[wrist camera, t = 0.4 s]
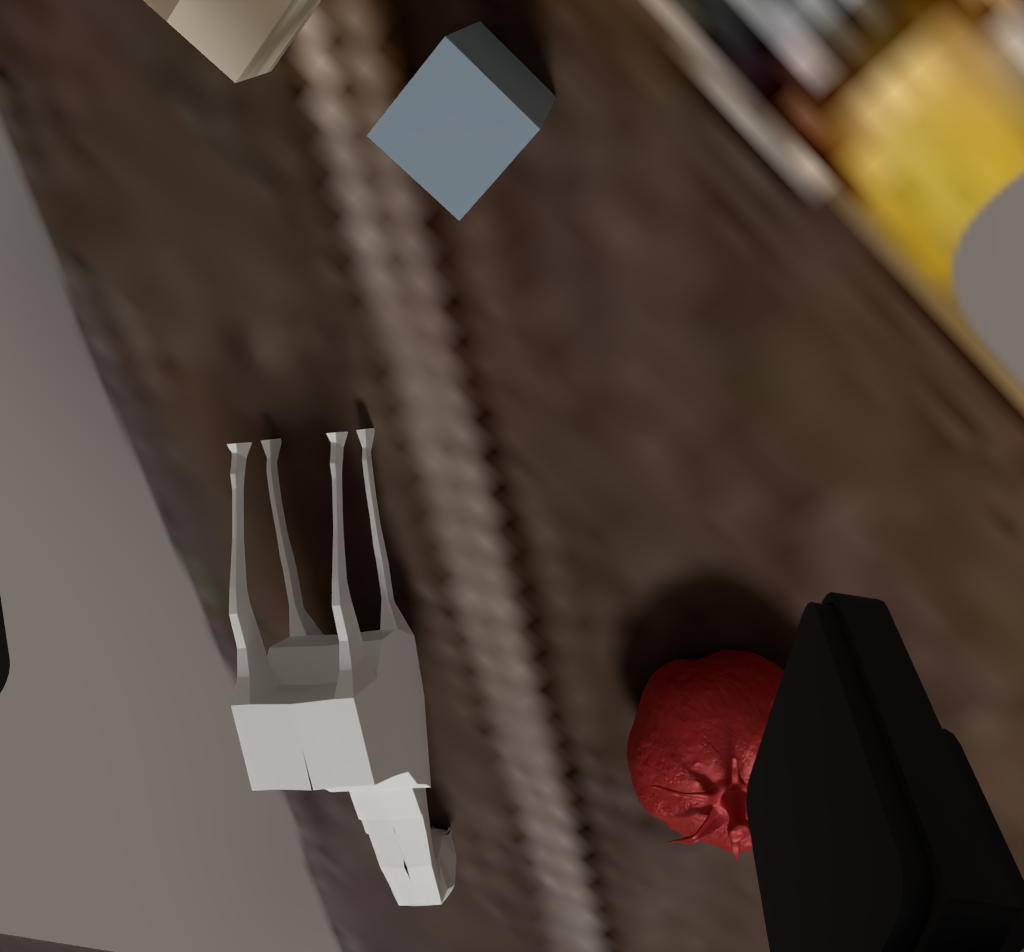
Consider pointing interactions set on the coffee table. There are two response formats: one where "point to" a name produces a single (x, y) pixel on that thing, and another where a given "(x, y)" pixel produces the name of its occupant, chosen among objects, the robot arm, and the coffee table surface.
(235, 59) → the socket block
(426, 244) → the coffee table surface
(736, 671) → the pomegranate
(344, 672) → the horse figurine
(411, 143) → the grey rectangular block
